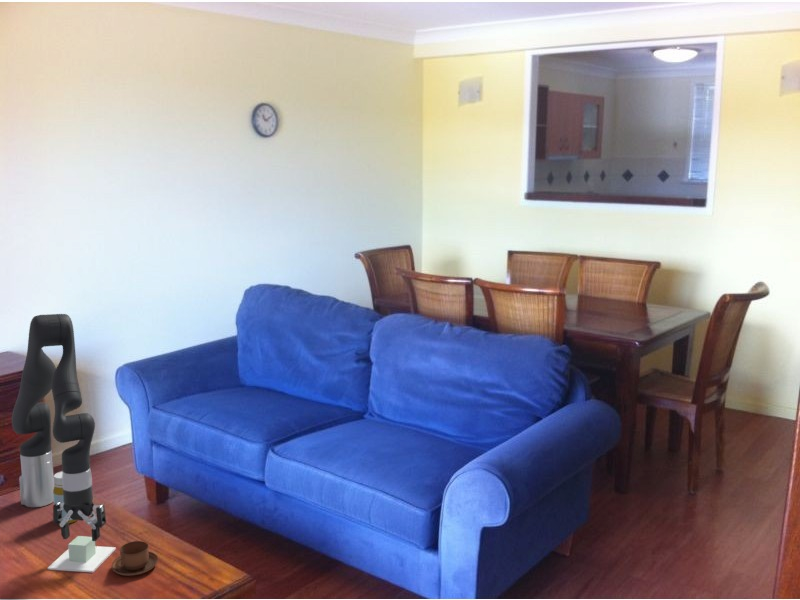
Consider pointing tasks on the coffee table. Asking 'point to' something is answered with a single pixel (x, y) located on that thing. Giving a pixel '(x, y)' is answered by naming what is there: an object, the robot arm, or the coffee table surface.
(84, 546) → the sage cube
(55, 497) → the bottle
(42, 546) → the coffee table surface
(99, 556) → the mat
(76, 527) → the coffee table surface
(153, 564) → the cup and saucer
